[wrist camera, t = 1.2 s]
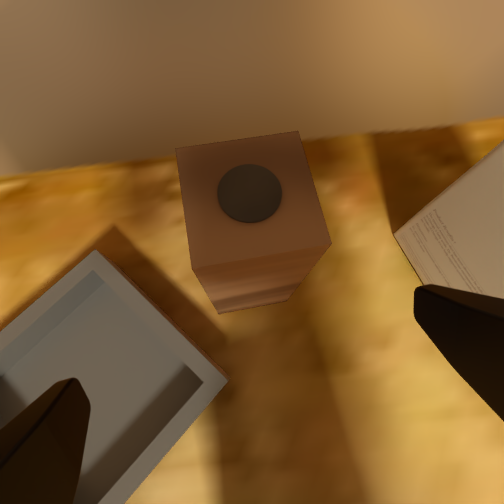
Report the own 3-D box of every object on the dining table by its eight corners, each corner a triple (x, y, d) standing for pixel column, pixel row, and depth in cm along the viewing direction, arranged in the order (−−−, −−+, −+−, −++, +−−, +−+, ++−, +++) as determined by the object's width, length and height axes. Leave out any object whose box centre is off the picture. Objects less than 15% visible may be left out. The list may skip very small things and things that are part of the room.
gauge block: (286, 301, 22) (332, 242, 11) (218, 314, 22) (191, 267, 10) (271, 238, 24) (298, 128, 12) (208, 249, 23) (174, 145, 12)
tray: (230, 377, 20) (228, 381, 18) (86, 546, 17) (55, 584, 14) (113, 262, 23) (95, 249, 20) (-32, 393, 20) (-78, 399, 17)
